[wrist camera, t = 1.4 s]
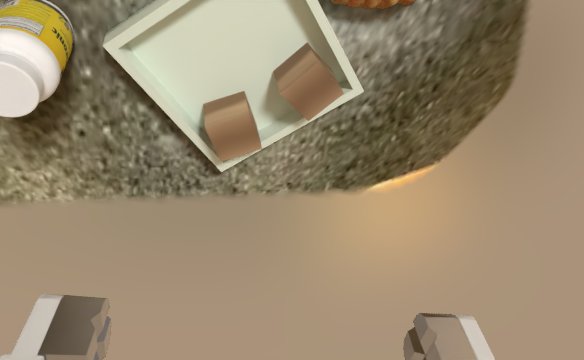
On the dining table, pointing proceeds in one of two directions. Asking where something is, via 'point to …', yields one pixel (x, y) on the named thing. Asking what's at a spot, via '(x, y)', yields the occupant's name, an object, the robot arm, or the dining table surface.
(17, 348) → the robot arm
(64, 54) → the supplement bottle
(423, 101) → the dining table surface
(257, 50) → the tray
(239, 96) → the walnut block
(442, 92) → the dining table surface
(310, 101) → the walnut block
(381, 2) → the pastry
